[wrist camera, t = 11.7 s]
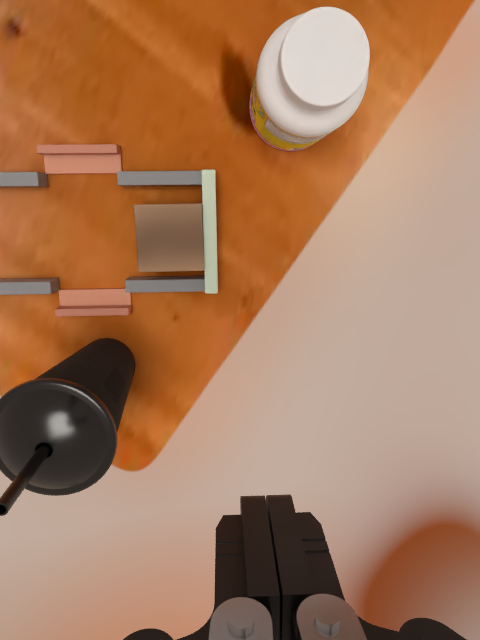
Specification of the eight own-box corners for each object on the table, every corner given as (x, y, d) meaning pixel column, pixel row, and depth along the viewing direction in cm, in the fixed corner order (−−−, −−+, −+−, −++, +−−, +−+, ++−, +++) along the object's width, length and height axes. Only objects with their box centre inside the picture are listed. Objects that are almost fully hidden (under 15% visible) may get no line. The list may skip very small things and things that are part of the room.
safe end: (203, 172, 36) (201, 169, 34) (215, 172, 36) (214, 169, 34) (206, 287, 39) (205, 293, 36) (218, 286, 39) (217, 293, 36)
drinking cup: (75, 311, 39) (-71, 413, 19) (161, 337, 40) (102, 460, 20) (55, 389, 40) (-98, 556, 21) (137, 413, 41) (63, 594, 22)
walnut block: (142, 204, 37) (133, 204, 33) (203, 203, 37) (201, 203, 33) (147, 265, 38) (138, 272, 34) (205, 264, 38) (204, 270, 35)
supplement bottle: (271, 45, 34) (299, -47, 22) (346, 87, 35) (414, 22, 23) (233, 129, 36) (240, 88, 23) (307, 167, 37) (351, 147, 24)
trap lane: (-47, 147, 35) (-62, 144, 33) (202, 146, 36) (201, 143, 34) (-21, 313, 39) (-34, 319, 37) (207, 309, 39) (206, 314, 37)
